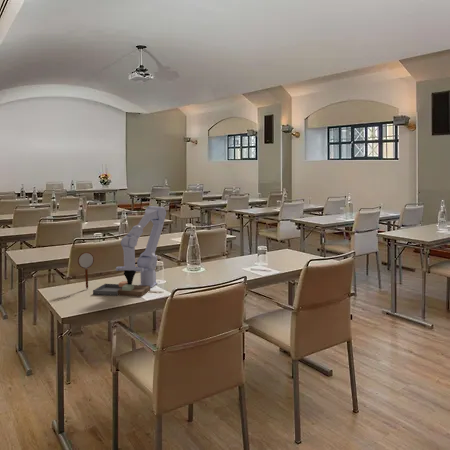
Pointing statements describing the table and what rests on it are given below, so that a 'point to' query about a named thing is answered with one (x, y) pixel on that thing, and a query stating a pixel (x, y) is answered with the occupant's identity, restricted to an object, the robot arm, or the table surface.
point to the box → (107, 290)
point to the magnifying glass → (86, 263)
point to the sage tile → (128, 287)
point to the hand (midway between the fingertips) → (130, 284)
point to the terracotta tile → (122, 283)
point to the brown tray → (135, 291)
